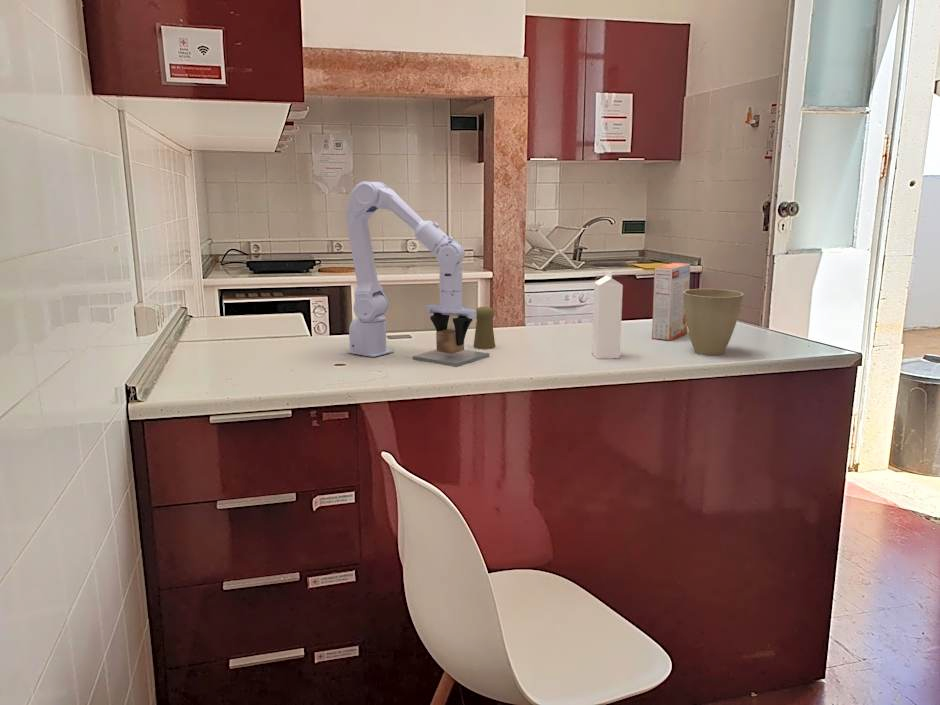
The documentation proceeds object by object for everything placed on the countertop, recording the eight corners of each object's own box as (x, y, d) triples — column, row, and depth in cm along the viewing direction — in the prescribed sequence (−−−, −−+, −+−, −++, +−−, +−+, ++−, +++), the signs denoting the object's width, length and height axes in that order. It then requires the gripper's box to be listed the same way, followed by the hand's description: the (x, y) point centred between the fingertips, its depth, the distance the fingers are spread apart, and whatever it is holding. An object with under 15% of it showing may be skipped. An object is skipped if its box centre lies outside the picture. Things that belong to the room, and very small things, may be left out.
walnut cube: (436, 351, 192) (436, 332, 191) (448, 347, 196) (448, 328, 195) (452, 353, 189) (451, 334, 188) (464, 350, 193) (463, 330, 192)
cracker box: (668, 331, 228) (672, 262, 223) (687, 333, 224) (692, 263, 220) (649, 338, 217) (653, 266, 212) (670, 341, 213) (674, 267, 209)
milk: (614, 353, 198) (618, 269, 193) (619, 358, 192) (624, 272, 187) (591, 353, 198) (594, 269, 193) (596, 358, 192) (599, 272, 187)
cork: (493, 349, 203) (493, 309, 200) (471, 348, 204) (470, 308, 202) (497, 345, 208) (497, 305, 206) (476, 344, 210) (475, 305, 207)
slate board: (412, 359, 192) (412, 356, 192) (446, 349, 203) (446, 346, 203) (456, 366, 184) (456, 363, 183) (489, 356, 195) (489, 353, 194)
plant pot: (669, 348, 204) (672, 289, 201) (718, 345, 208) (722, 287, 204) (698, 360, 190) (702, 297, 187) (750, 357, 194) (755, 295, 190)
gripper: (418, 290, 190) (419, 342, 193) (464, 294, 182) (464, 349, 185) (436, 287, 196) (436, 338, 199) (481, 291, 188) (481, 345, 191)
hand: (451, 343), depth 192 cm, fingers closed on walnut cube, 5 cm apart
